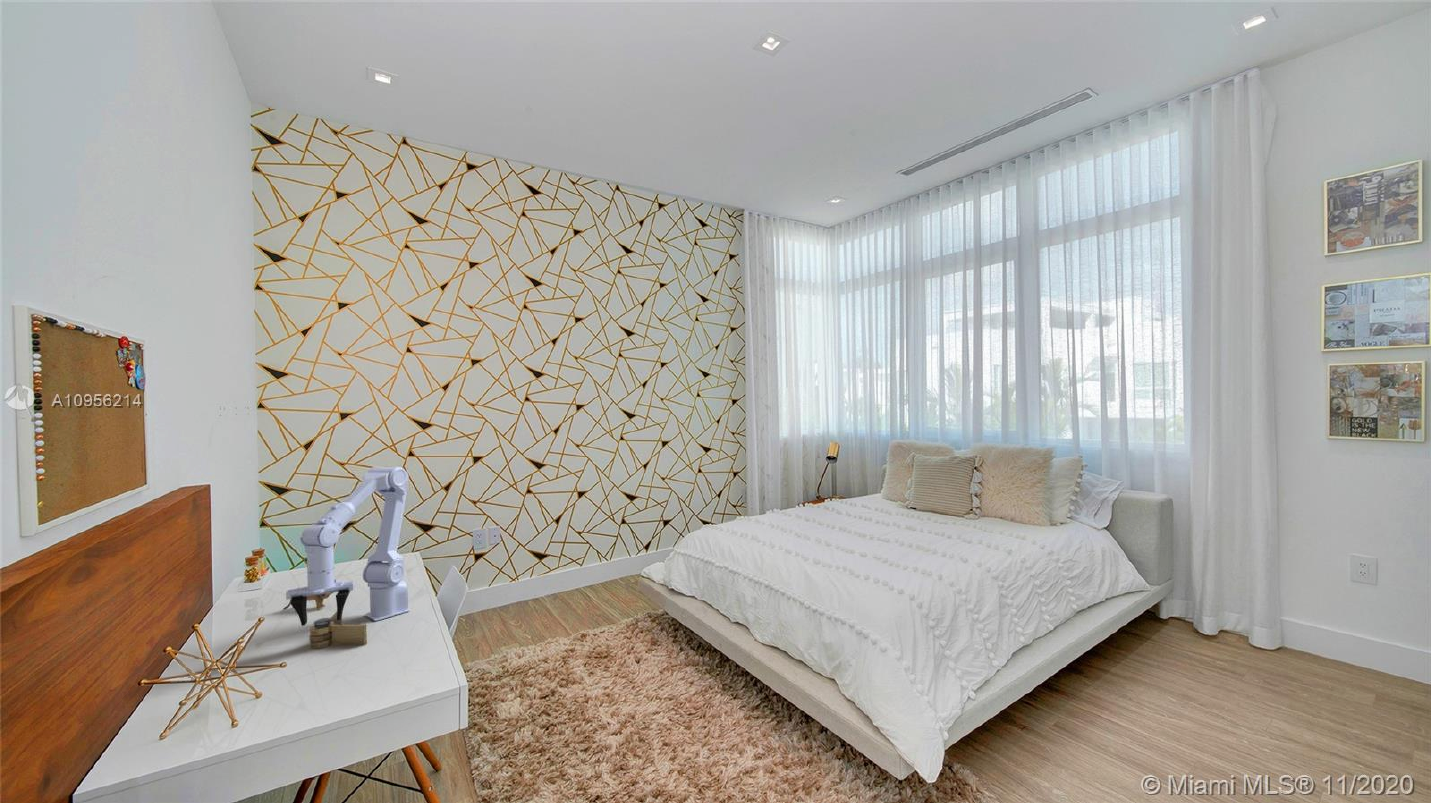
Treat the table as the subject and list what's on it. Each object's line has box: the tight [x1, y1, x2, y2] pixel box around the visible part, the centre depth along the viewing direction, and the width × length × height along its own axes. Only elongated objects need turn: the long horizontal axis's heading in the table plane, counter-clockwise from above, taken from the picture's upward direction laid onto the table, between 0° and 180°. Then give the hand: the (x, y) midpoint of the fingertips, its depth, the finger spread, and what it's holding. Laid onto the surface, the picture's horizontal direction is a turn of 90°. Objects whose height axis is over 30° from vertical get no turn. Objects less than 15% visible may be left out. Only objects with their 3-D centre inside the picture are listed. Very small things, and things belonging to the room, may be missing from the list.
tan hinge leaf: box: [309, 621, 368, 650], centre depth 142 cm, size 14×5×5 cm, turn 86°
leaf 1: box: [309, 611, 343, 642], centre depth 147 cm, size 14×5×4 cm, turn 16°
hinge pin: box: [313, 617, 331, 640], centre depth 142 cm, size 4×4×6 cm
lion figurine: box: [282, 579, 336, 611], centre depth 168 cm, size 15×5×9 cm, turn 104°
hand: (322, 621), depth 142 cm, fingers open, 7 cm apart
